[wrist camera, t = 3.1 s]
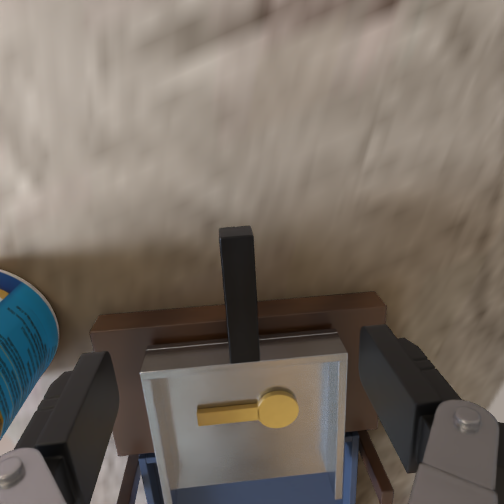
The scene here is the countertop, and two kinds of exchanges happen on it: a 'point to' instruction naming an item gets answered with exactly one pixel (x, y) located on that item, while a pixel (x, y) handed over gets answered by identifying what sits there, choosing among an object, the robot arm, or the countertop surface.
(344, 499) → the tray
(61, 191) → the countertop surface
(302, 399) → the grey dustpan
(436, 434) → the robot arm
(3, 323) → the beverage bottle
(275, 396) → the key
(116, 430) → the stand
